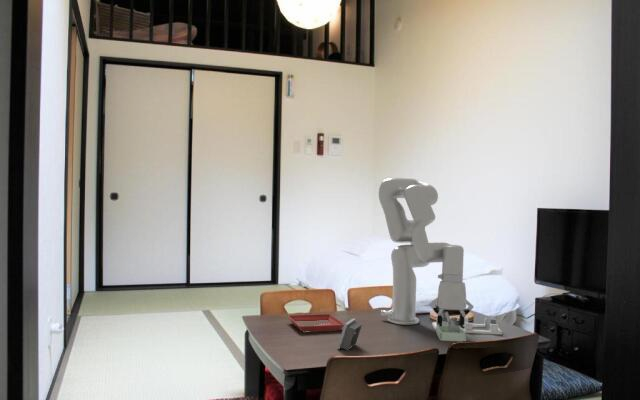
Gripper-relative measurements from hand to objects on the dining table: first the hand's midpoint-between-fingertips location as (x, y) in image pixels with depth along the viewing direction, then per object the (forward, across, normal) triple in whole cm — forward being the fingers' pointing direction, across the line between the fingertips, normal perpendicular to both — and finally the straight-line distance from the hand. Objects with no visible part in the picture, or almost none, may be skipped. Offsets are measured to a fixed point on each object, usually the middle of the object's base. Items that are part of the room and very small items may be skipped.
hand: (450, 325), depth 199 cm
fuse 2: (+4, +18, +13) cm, 22 cm away
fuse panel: (+4, +8, +13) cm, 16 cm away
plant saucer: (+5, -51, +5) cm, 51 cm away
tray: (+4, 0, 0) cm, 4 cm away
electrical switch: (+4, -37, -20) cm, 42 cm away
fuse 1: (+4, -1, +13) cm, 14 cm away
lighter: (+3, 0, 0) cm, 3 cm away
